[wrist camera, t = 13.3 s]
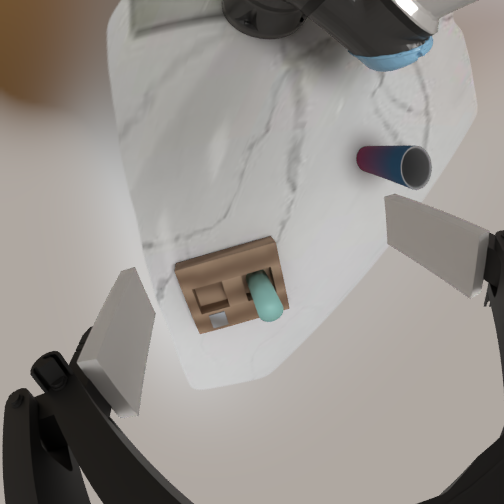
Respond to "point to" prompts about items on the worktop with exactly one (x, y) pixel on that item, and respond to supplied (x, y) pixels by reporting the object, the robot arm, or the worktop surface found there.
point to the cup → (397, 164)
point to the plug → (264, 296)
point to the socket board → (228, 283)
